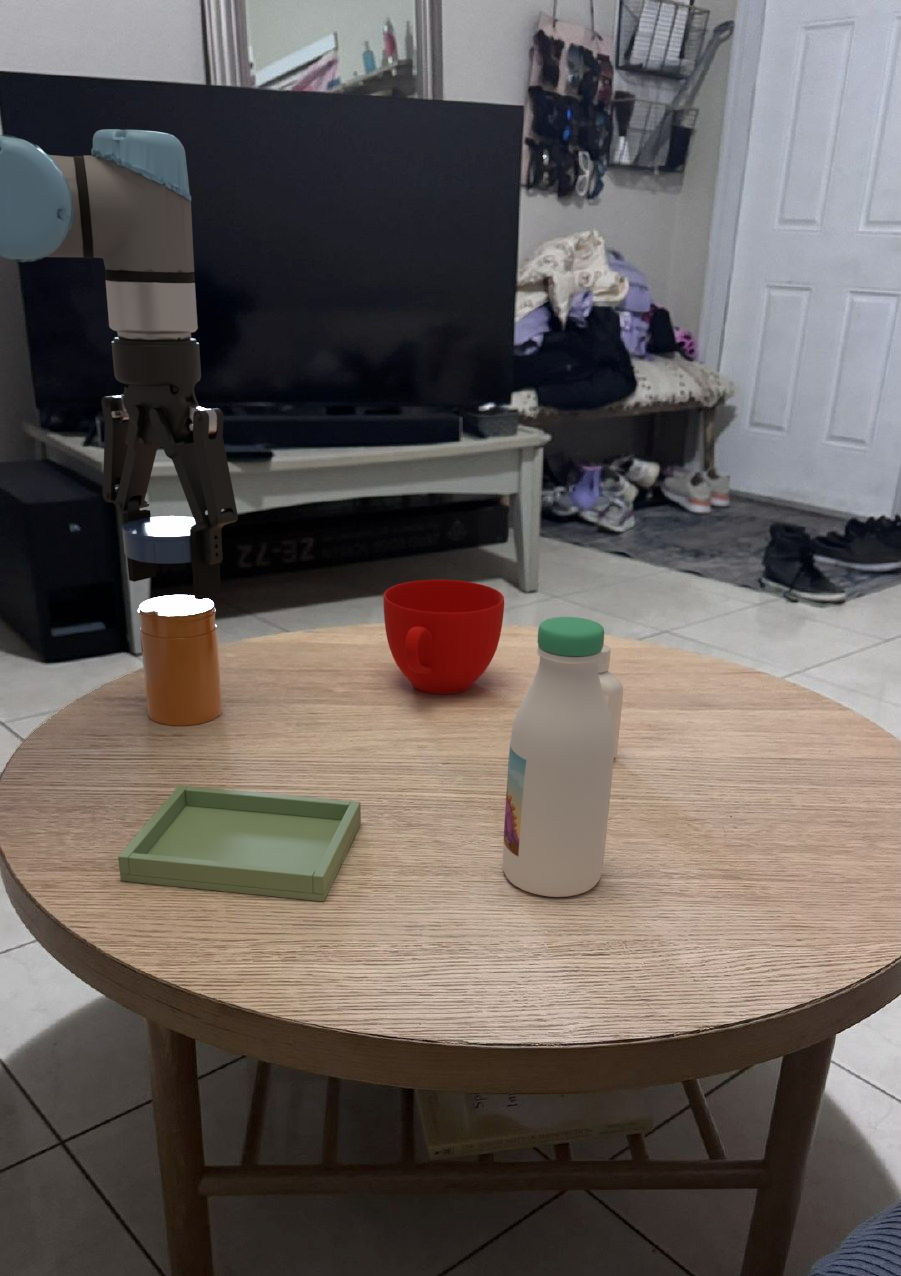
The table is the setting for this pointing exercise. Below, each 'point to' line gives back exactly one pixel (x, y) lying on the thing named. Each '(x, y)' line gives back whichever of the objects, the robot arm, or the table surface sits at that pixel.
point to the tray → (243, 843)
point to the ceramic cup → (443, 632)
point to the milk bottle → (560, 766)
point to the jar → (180, 659)
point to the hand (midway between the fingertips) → (174, 587)
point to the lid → (159, 539)
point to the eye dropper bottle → (611, 692)
